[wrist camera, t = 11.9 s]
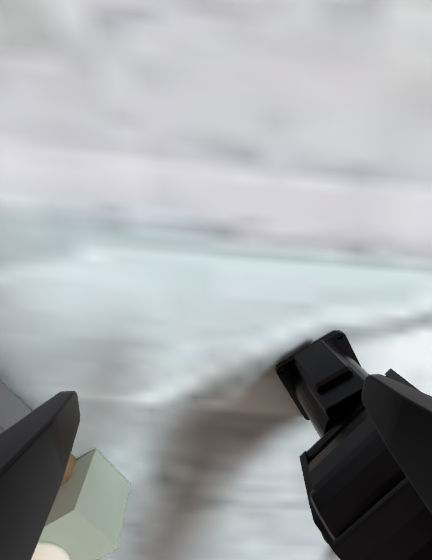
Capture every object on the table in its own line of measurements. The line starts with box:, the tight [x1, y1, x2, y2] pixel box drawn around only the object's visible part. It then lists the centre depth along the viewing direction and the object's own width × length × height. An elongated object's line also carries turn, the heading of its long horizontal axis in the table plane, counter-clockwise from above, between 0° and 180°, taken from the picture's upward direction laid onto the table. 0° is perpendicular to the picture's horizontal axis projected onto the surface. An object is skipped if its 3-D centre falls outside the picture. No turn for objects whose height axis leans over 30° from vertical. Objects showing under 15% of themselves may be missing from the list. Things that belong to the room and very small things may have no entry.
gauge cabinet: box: [31, 449, 130, 560], centre depth 22 cm, size 5×10×6 cm, turn 121°
